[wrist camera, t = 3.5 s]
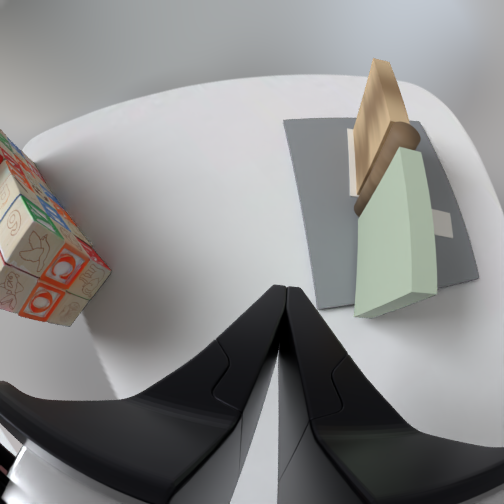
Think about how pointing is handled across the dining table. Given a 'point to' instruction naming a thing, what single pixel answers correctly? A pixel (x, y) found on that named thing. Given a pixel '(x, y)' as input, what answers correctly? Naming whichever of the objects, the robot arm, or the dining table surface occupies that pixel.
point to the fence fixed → (379, 131)
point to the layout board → (344, 217)
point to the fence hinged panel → (396, 240)
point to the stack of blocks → (41, 247)
